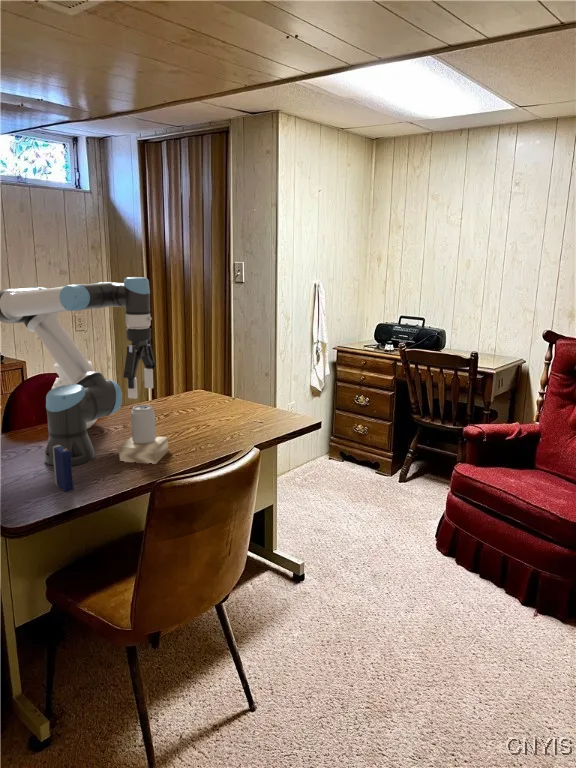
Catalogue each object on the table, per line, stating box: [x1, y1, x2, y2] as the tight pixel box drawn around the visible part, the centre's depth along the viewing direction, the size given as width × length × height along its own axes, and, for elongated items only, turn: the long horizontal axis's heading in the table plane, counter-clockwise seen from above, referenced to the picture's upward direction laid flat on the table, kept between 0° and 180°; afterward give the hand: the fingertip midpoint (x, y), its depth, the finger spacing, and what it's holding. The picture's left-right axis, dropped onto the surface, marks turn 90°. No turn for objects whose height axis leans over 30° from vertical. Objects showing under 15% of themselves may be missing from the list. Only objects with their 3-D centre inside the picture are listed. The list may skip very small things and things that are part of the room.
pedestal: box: [118, 436, 169, 465], centre depth 187 cm, size 12×12×5 cm
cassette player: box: [53, 445, 74, 492], centre depth 161 cm, size 7×2×12 cm, turn 43°
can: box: [130, 404, 157, 445], centre depth 186 cm, size 8×8×12 cm
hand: (141, 392), depth 183 cm, fingers open, 13 cm apart
